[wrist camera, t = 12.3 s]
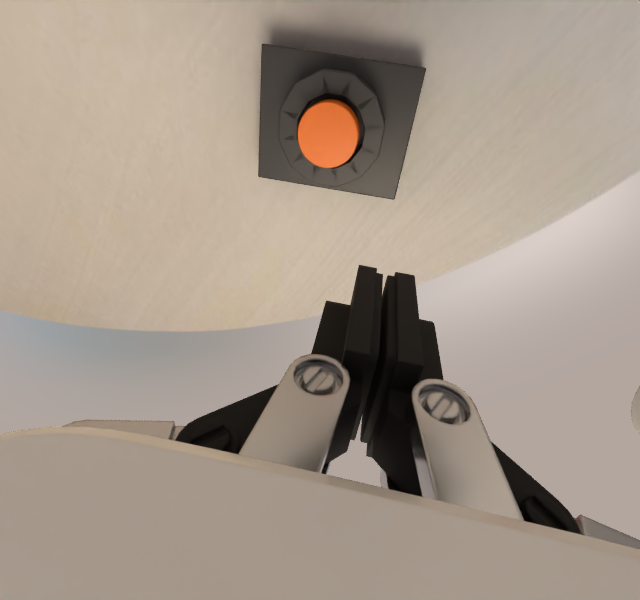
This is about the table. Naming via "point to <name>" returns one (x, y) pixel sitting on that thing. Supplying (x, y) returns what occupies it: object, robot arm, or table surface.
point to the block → (354, 90)
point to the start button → (328, 133)
